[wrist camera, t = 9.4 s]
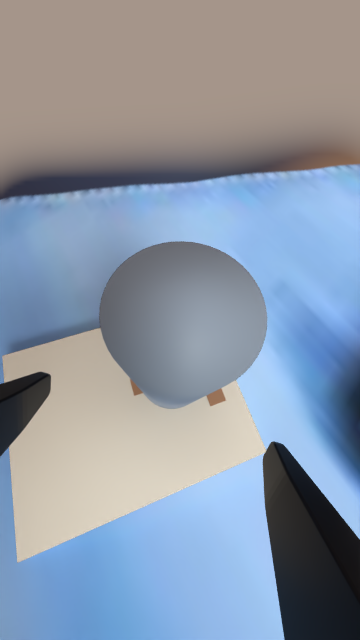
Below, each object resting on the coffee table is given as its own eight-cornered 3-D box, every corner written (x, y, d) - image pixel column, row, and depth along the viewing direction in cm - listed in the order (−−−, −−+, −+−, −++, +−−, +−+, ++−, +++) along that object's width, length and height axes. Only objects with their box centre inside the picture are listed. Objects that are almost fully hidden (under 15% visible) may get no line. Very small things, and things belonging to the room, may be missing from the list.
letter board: (26, 554, 15) (16, 563, 14) (9, 358, 20) (1, 355, 19) (261, 450, 19) (267, 452, 18) (199, 303, 24) (201, 297, 23)
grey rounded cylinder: (166, 424, 18) (171, 439, 6) (126, 369, 20) (66, 293, 8) (217, 379, 20) (300, 321, 8) (176, 331, 21) (193, 219, 9)
